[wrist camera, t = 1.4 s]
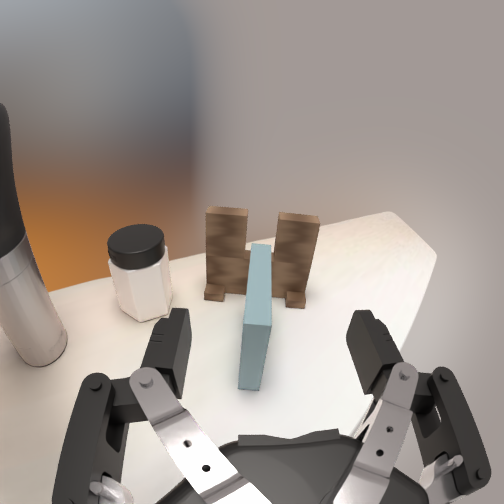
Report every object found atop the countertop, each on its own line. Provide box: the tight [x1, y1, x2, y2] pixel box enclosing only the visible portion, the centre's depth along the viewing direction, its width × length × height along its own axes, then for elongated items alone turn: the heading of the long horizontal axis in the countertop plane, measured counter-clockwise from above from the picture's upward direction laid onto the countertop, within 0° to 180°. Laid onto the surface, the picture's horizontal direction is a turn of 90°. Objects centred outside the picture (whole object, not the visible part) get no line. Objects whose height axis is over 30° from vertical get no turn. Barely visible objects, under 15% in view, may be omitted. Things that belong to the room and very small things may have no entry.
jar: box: [107, 224, 173, 322], centre depth 38 cm, size 9×8×12 cm
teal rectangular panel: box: [238, 243, 272, 391], centre depth 33 cm, size 14×2×12 cm, turn 177°
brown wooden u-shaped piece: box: [204, 206, 320, 308], centre depth 43 cm, size 16×7×14 cm, turn 87°
